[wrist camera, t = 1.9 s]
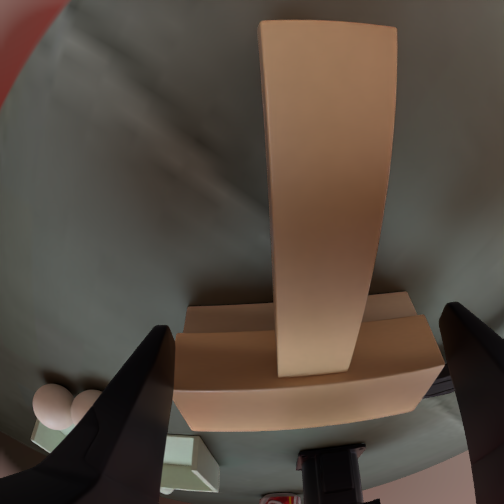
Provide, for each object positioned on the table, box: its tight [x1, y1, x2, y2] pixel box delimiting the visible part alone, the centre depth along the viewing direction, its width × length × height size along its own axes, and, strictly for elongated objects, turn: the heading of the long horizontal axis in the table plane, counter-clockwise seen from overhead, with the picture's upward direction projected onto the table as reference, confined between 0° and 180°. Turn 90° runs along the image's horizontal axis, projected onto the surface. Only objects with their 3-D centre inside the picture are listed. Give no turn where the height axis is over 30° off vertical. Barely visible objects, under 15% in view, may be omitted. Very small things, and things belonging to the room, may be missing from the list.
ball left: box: [33, 384, 74, 430], centre depth 18 cm, size 4×4×4 cm
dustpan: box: [31, 418, 220, 494], centre depth 28 cm, size 20×17×3 cm
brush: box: [173, 20, 445, 432], centre depth 10 cm, size 14×10×4 cm
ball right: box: [71, 390, 102, 426], centre depth 18 cm, size 4×4×4 cm
